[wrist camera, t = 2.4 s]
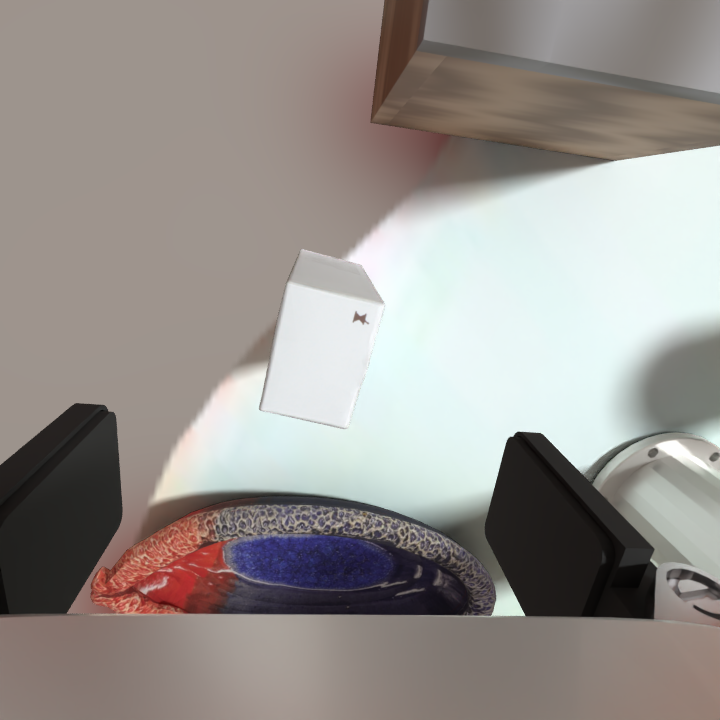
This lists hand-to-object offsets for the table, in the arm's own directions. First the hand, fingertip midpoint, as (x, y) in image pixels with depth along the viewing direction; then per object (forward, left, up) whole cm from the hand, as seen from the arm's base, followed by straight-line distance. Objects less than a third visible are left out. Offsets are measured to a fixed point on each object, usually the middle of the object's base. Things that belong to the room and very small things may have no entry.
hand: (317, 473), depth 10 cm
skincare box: (0, 0, -20) cm, 20 cm away
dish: (-1, +22, -21) cm, 30 cm away
